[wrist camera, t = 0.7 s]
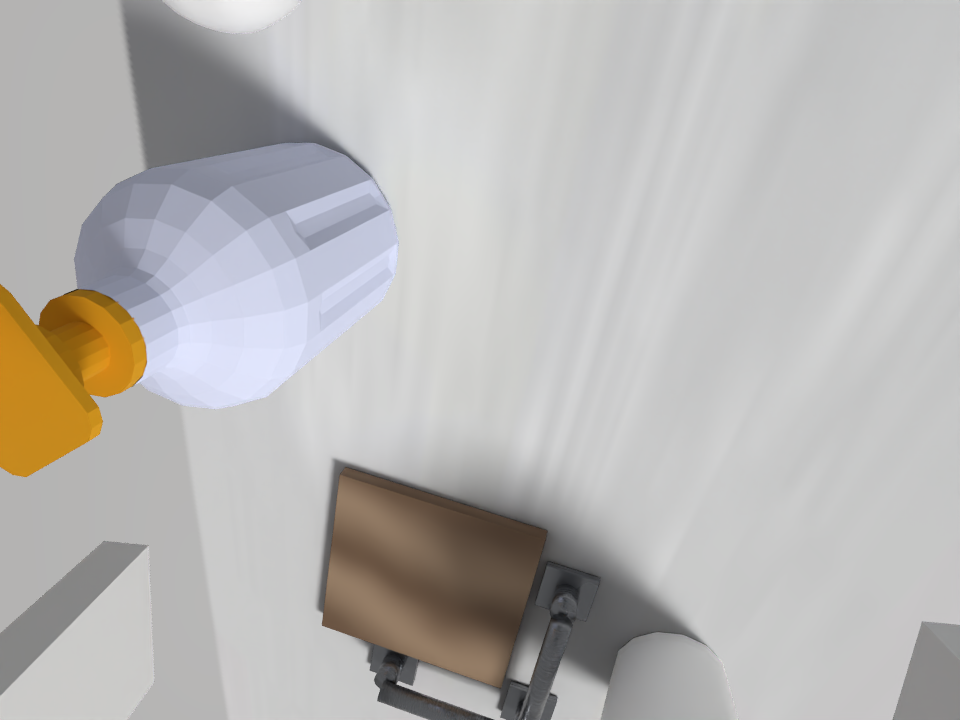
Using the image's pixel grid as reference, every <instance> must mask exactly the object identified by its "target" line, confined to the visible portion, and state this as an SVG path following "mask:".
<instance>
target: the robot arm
mask: <svg viewBox="0 0 960 720" xmlns="http://www.w3.org/2000/svg"><path fill="white" fill-rule="evenodd" d="M153 683H154V661H153V638H152V613H151V591H150V568H149V545H138V544H129V543H119V542H108V541H103V542H102V543H101V544H100V545H99V546H98V547H97V548H96V549H95V550H94V551H92V552H91V553H90V554H89V555H88V556H87V557H85V558H84V559H83V560H82V561H81V562H80V563H79V564H78V565H76V566H75V567H74V568H73V569H72V570H71V571H70V572H69V573H68V574H66V575H65V576H64V577H63V578H62V579H61V580H60V581H59V582H58V583H56V584H55V585H54V586H53V587H52V588H51V589H50V590H49V591H47V592H46V593H45V594H44V595H43V596H42V597H41V598H39V599H38V600H37V601H36V602H35V603H34V604H33V605H32V606H30V607H29V608H28V609H27V610H26V611H25V612H24V613H23V614H21V615H20V616H19V617H18V618H17V619H16V620H15V621H14V622H12V623H11V624H10V625H9V626H8V627H7V628H6V629H5V630H4V631H2V632H1V633H0V720H128V718H129V717H130V716H131V714H132V712H133V711H134V710H135V709H136V707H137V706H138V704H139V703H140V701H141V700H142V699H143V697H144V696H145V694H146V693H147V691H148V690H149V688H150V687H151V686H152V684H153ZM893 720H960V625H954V624H944V623H934V622H923V621H922V624H921V627H920V630H919V634H918V637H917V640H916V644H915V647H914V650H913V654H912V657H911V660H910V664H909V667H908V670H907V674H906V677H905V680H904V684H903V687H902V690H901V694H900V697H899V700H898V704H897V707H896V710H895V713H894V717H893Z"/></svg>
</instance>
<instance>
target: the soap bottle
mask: <svg viewBox="0 0 960 720" xmlns="http://www.w3.org/2000/svg"><path fill="white" fill-rule="evenodd" d="M398 246H399V241H398V236H397V232H396V228H395V224H394V219H393V215H392V211H391V208H390V206H389V205H388V203H387V201H386V200H385V198H384V196H383V195H382V193H381V191H380V190H379V188H378V186H377V185H376V183H375V181H374V180H373V178H371V177H370V176H369V175H368V174H367V173H366V172H365V171H363V170H362V169H361V168H360V167H359V166H358V165H357V164H355V163H354V162H353V161H352V160H351V159H350V158H349V157H347V156H346V155H344V154H341V153H339V152H336V151H334V150H331V149H329V148H326V147H324V146H321V145H319V144H316V143H281V144H275V145H270V146H265V147H260V148H254V149H249V150H244V151H239V152H233V153H228V154H223V155H218V156H212V157H207V158H202V159H197V160H191V161H186V162H181V163H176V164H170V165H165V166H160V167H155V168H150V169H148V170H145V171H143V172H141V173H139V174H137V175H135V176H133V177H130V178H128V179H126V180H124V181H122V182H120V183H118V184H116V185H115V186H114V187H113V188H112V189H111V190H110V191H109V192H108V193H107V194H106V195H105V196H104V197H103V198H102V199H101V201H100V202H99V203H98V205H97V206H96V207H95V208H94V210H93V211H92V212H91V214H90V215H89V216H88V218H87V219H86V220H85V221H84V223H83V224H82V228H81V232H80V236H79V241H78V245H77V249H76V254H75V258H74V262H75V269H76V279H77V287H78V289H76V290H74V291H71V292H69V293H66V294H64V295H63V296H60V297H58V298H55V299H52V300H50V301H49V302H48V304H47V305H46V307H45V308H44V309H43V310H42V312H41V314H40V321H39V325H35V324H34V323H33V321H32V320H31V319H30V317H29V316H28V315H27V314H26V312H25V311H24V310H23V308H22V307H21V306H20V304H19V303H18V302H17V301H16V299H15V298H14V297H13V295H12V294H11V293H10V292H9V291H8V290H6V289H5V288H4V287H3V286H2V285H1V284H0V467H1V468H3V469H4V470H6V471H7V472H9V473H11V474H12V475H17V476H23V477H27V476H29V475H31V474H33V473H34V472H36V471H38V470H39V469H41V468H43V467H44V466H47V465H48V464H50V463H52V462H54V461H55V460H57V459H59V458H60V457H62V456H64V455H66V454H67V453H69V452H71V451H73V450H74V449H76V448H78V447H80V446H81V445H83V444H85V443H86V442H88V441H90V440H92V439H93V438H94V437H96V436H98V435H99V434H100V431H101V427H102V423H103V420H102V417H101V413H100V410H99V407H98V405H97V404H96V403H95V401H94V400H93V399H92V398H91V396H90V395H95V396H101V397H108V396H112V395H115V394H119V393H121V392H123V391H125V390H126V389H128V388H130V387H132V386H134V385H136V384H138V383H140V384H141V385H143V386H144V387H145V388H146V389H147V390H149V391H151V392H153V393H155V394H157V395H160V396H162V397H164V398H167V399H169V400H171V401H173V402H176V403H178V404H180V405H182V406H191V407H201V408H210V409H220V408H226V407H232V406H236V405H240V404H243V403H247V402H251V401H254V400H258V399H261V398H265V397H267V396H268V395H269V394H271V393H272V392H273V391H274V390H275V389H277V388H278V387H279V386H280V385H281V384H283V383H284V382H285V381H286V380H287V379H289V378H290V377H291V376H292V375H293V374H295V373H296V372H297V371H298V370H299V369H301V368H302V367H303V366H304V365H306V364H307V363H308V362H309V361H310V360H312V359H313V358H314V357H315V356H316V355H318V354H319V353H320V352H321V351H322V350H324V349H325V348H326V347H327V346H328V345H330V344H331V343H332V342H333V341H334V340H336V339H337V338H338V337H339V336H340V335H342V334H343V333H344V332H345V331H346V330H348V329H349V328H350V327H351V326H352V325H354V324H355V323H356V322H357V321H358V320H360V319H361V318H362V317H363V316H364V315H366V314H367V313H368V312H369V311H370V310H371V309H373V308H374V307H375V306H376V305H377V304H378V303H380V302H381V301H382V300H383V298H384V296H385V294H386V292H387V290H388V288H389V286H390V284H391V282H392V280H393V278H394V276H395V274H396V265H397V256H398Z"/></svg>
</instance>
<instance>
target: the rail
mask: <svg viewBox="0 0 960 720" xmlns="http://www.w3.org/2000/svg"><path fill="white" fill-rule="evenodd" d="M599 583H600V578H599V577H596V576H593V575H590V574H587V573H584V572H581V571H578V570H574V569H571V568H568V567H565V566H562V565H559V564H556V563H553V562H550V561H548V563H547V566H546V569H545V572H544V576H543V579H542V582H541V585H540V589H539V592H538V595H537V598H536V602H535V605H537V606H540V607H543V608H546V609H549V610H550V615H551V620H550V623H549V626H548V629H547V632H546V635H545V638H544V641H543V644H542V647H541V650H540V653H539V656H538V659H537V663H536V666H535V669H534V672H533V675H532V678H531V681H530V684H529V687H528V686H525V685H522V684H519V683H516V682H513V681H511V683H510V686H509V689H508V693H507V696H506V699H505V702H504V706H503V709H502V712H501V716H500V717H501V718H504V719H506V720H551V717H552V714H553V711H554V709H555V706H556V703H557V697H556V696H553V695H550V694H549V693H550V690H551V687H552V684H553V681H554V678H555V676H556V673H557V670H558V667H559V664H560V661H561V658H562V655H563V653H564V650H565V647H566V644H567V641H568V638H569V635H570V633H571V630H572V626H573V625H572V623H573V622H574V621H575V619H576V618H577V619H580V620H583V621H586V619H587V617H588V614H589V611H590V608H591V606H592V603H593V600H594V597H595V594H596V592H597V589H598V586H599ZM418 662H419V660H418V659H415V658H413V657H410V656H407V655H404V654H401V653H398V652H396V651H393V650H390V649H387V648H384V647H381V646H379V645H376V644H374V648H373V654H372V660H371V666H370V671H373V672H375V673H377V674H376V676H375V679H374V681H375V684H376V685H377V686H378V687H379V688H380V692H379V695H378V700H377V701H379V702H382V703H384V704H387V705H390V706H392V707H395V708H398V709H401V710H403V711H406V712H409V713H412V714H414V715H417V716H420V717H423V718H425V719H428V720H493V719H491V718H488V717H485V716H482V715H480V714H477V713H474V712H471V711H468V710H466V709H463V708H460V707H457V706H455V705H452V704H449V703H446V702H443V701H441V700H438V699H435V698H432V697H430V696H427V695H424V694H421V693H418V692H416V691H413V690H410V689H407V688H405V687H402V686H399V685H396V684H397V682H398V681H401V682H403V683H406V684H409V685H413V683H414V680H415V676H416V671H417V666H418Z"/></svg>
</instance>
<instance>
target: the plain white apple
mask: <svg viewBox="0 0 960 720" xmlns="http://www.w3.org/2000/svg"><path fill="white" fill-rule="evenodd" d="M162 1H163V2H164V3H165V4H166V5H167V6H169V7H170V8H171V9H172V10H174V11H175V12H176V13H177V14H179V15H180V16H182V17H184V18H186V19H187V20H189V21H191V22H193V23H195V24H197V25H200V26H203V27H206V28H209V29H212V30H215V31H219V32H225V33H231V34H247V33H254V32H258V31H260V30H263V29H265V28H268V27H270V26H272V25H273V24H275V23H277V22H278V21H280V20H281V19H283V18H285V17H286V16H287V15H289V14H290V13H291V12H292V11H293V10H294V9H295V8H296V7H297V6H298V5H299V4H300V3H301V1H302V0H162Z"/></svg>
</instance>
